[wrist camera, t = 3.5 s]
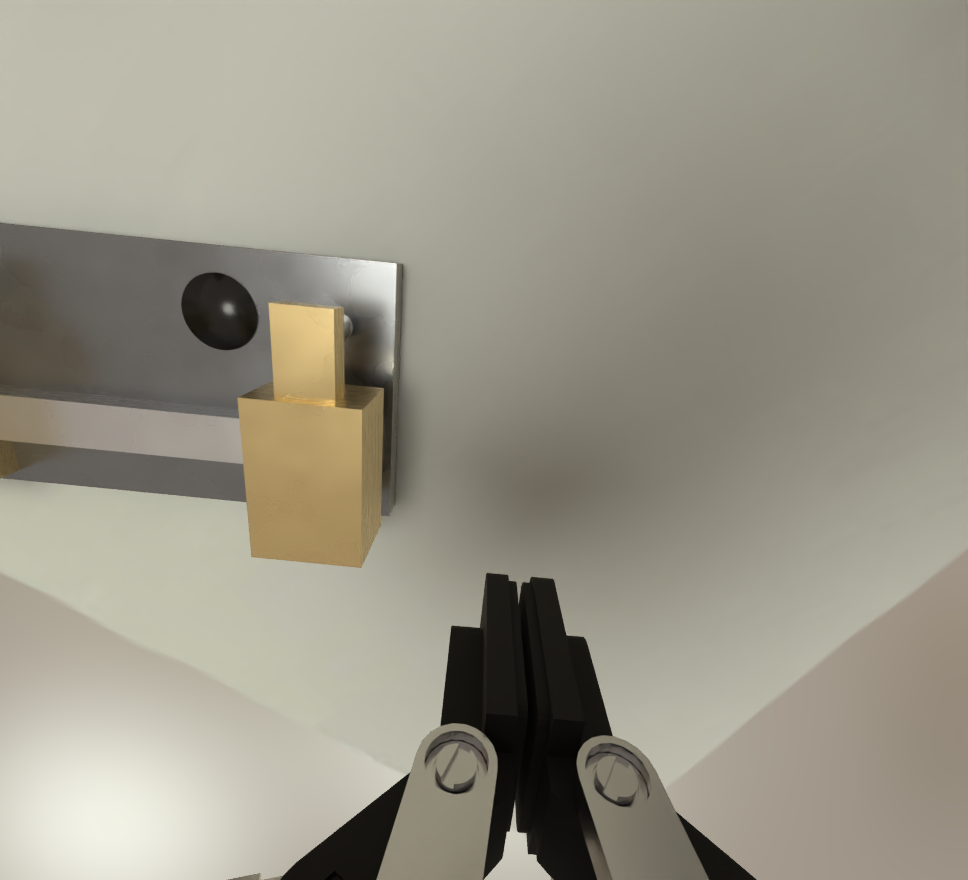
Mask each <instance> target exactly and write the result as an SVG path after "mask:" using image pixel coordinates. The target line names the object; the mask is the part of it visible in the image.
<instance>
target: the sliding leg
mask: <svg viewBox="0 0 968 880" xmlns="http://www.w3.org/2000/svg"><path fill="white" fill-rule="evenodd" d="M269 318H270V334H271V351H272V367H273V381H271V382H269V383H267V384H265V385H263V386H261V387H259V388H256V389H254V390H252V391H250V392H248V393H246V394H244V395H242V396H240V397H238V409H239V421H240V432H241V443H242V454H243V466H244V477H245V488H246V500H247V511H248V522H249V533H250V545H251V556H252V557H257V558H267V559H277V560H288V561H298V562H308V563H318V564H328V565H339V566H349V567H359V568H361V567H362V565H363V563H364V561H365V558H366V556H367V554H368V552H369V550H370V548H371V545H372V543H373V541H374V539H375V537H376V535H377V533H378V530H379V528H380V526H381V492H382V448H383V403H384V388H377V387H367V386H357V385H347V384H345V378H344V339H346V338H348V337H349V336H350V335H351V334H352V331H353V324H352V321H351V320H350V318H349V317H348V316H346V315H345V314H344V307H338V306H328V305H318V304H308V303H299V302H289V301H278V302H270V303H269Z"/></svg>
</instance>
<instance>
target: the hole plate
mask: <svg viewBox="0 0 968 880" xmlns="http://www.w3.org/2000/svg"><path fill="white" fill-rule="evenodd" d="M402 271H403V264H397V263H387V262H377V261H368V260H358V259H348V258H338V257H328V256H318V255H309V254H299V253H289V252H279V251H269V250H260V249H250V248H240V247H230V246H220V245H211V244H201V243H191V242H181V241H171V240H162V239H152V238H142V237H132V236H122V235H113V234H103V233H93V232H83V231H73V230H64V229H54V228H44V227H34V226H24V225H15V224H5V223H0V478H7V479H17V480H27V481H37V482H48V483H58V484H68V485H78V486H88V487H98V488H109V489H119V490H129V491H139V492H149V493H159V494H169V495H180V496H190V497H200V498H210V499H220V500H230V501H241V502H247V500H246V488H245V477H244V466H243V454H242V443H241V432H240V421H239V409H238V397H240V396H242V395H244V394H246V393H248V392H250V391H252V390H254V389H256V388H259V387H261V386H263V385H265V384H267V383H269V382H271V381H273V367H272V351H271V334H270V318H269V303H270V302H278V301H289V302H299V303H308V304H318V305H328V306H338V307H344V314H345V315H346V316H348V317H349V318H350V320H351V321H352V324H353V331H352V334H351V335H350V336H349V337H348V338H346V339H344V378H345V384H347V385H357V386H367V387H377V388H384V403H383V448H382V492H381V515H383V516H390V513H391V511H392V509H393V507H394V504H395V480H396V450H397V420H398V390H399V361H400V331H401V301H402Z"/></svg>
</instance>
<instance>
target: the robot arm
mask: <svg viewBox="0 0 968 880" xmlns="http://www.w3.org/2000/svg"><path fill="white" fill-rule="evenodd" d="M514 803H515V805H516V824H517V831H518V832H520V833H527V847H528V854H534V855H537V861H538V863H539V864H540V865H541V866H542V867H543V868H544V869H545V871H546V872H547V873H548V874H549V875H550V876H551V880H756V879H755V878H754V877H753V876H752V875H750V874H749V873H748V872H747V871H746V870H745V869H743V868H742V867H741V866H740V865H739V864H737V863H736V862H735V861H734V860H733V859H731V858H730V857H729V856H728V855H727V854H726V853H724V852H723V851H722V850H721V849H720V848H718V847H717V846H716V845H715V844H714V843H712V842H711V841H710V840H709V839H708V838H707V837H705V836H704V835H703V834H702V833H701V832H699V831H698V830H697V829H696V828H695V827H694V826H692V825H691V824H690V823H689V822H687V821H686V820H685V819H684V818H683V817H682V816H681V815H679V814H678V813H677V812H676V811H675V809H674V807H673V805H672V803H671V801H670V799H669V797H668V795H667V793H666V791H665V788H664V786H663V784H662V782H661V780H660V778H659V776H658V774H657V772H656V770H655V769H654V767H653V765H652V764H651V762H650V761H649V759H648V758H647V757H646V756H645V755H644V754H643V753H642V752H641V751H640V750H639V749H638V748H637V747H635V746H634V745H632V744H630V743H629V742H627V741H625V740H623V739H620V738H617V737H614V736H613V735H612V732H611V728H610V725H609V721H608V717H607V714H606V710H605V706H604V703H603V699H602V696H601V692H600V688H599V685H598V681H597V677H596V674H595V670H594V667H593V663H592V659H591V656H590V652H589V648H588V645H587V642H586V639H585V638H584V637H578V636H566V632H565V628H564V623H563V619H562V614H561V610H560V605H559V601H558V596H557V592H556V587H555V583H554V580H553V579H548V578H537V577H531V579H530V583H526V582H523V583H522V586H521V593H520V600H519V604H518V594H517V583H516V582H515V581H509V578H508V575H503V574H492V573H487V574H486V580H485V589H484V597H483V606H482V615H481V624H480V628H473V627H461V626H452V627H451V635H450V644H449V653H448V662H447V672H446V681H445V690H444V699H443V708H442V717H441V726H440V727H438V728H436V729H435V730H433V731H431V732H430V733H429V734H428V735H427V736H426V737H425V738H424V739H423V740H422V742H421V744H420V746H419V748H418V750H417V753H416V756H415V759H414V763H413V766H412V769H411V772H410V773H409V774H407V775H406V776H405V777H404V778H402V779H401V780H400V781H399V782H397V783H396V784H395V785H394V786H393V787H391V788H390V789H389V790H387V791H386V792H385V793H384V794H382V795H381V796H380V797H379V798H377V799H376V800H375V801H373V802H372V803H371V804H370V805H368V806H367V807H366V808H365V809H363V810H362V811H361V812H360V813H358V814H357V815H356V816H354V817H353V818H352V819H351V820H349V821H348V822H347V823H346V824H344V825H343V826H342V827H341V828H339V829H338V830H337V831H336V832H334V833H333V834H332V835H331V836H329V837H328V838H327V839H326V840H324V841H323V842H322V843H321V844H319V845H318V846H317V847H315V848H314V849H313V850H312V851H310V852H309V853H308V854H307V855H305V856H304V857H303V858H302V859H300V860H299V861H298V862H296V863H295V865H293V866H292V867H291V868H290V869H289V870H288V871H287V872H286V873H285V875H283V876H280V877H275V878H270V879H265V880H484V878H485V877H486V876H487V875H488V874H489V873H490V872H491V871H492V869H493V868H494V867H495V866H496V865H497V864H498V863H499V861H500V860H501V859H502V857H503V851H504V845H505V839H506V833H507V831H508V832H509V831H510V826H511V820H512V815H513V809H514ZM230 880H261V875H260V873H259V874H254V875H249V876H244V877H239V878H234V879H230Z"/></svg>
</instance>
